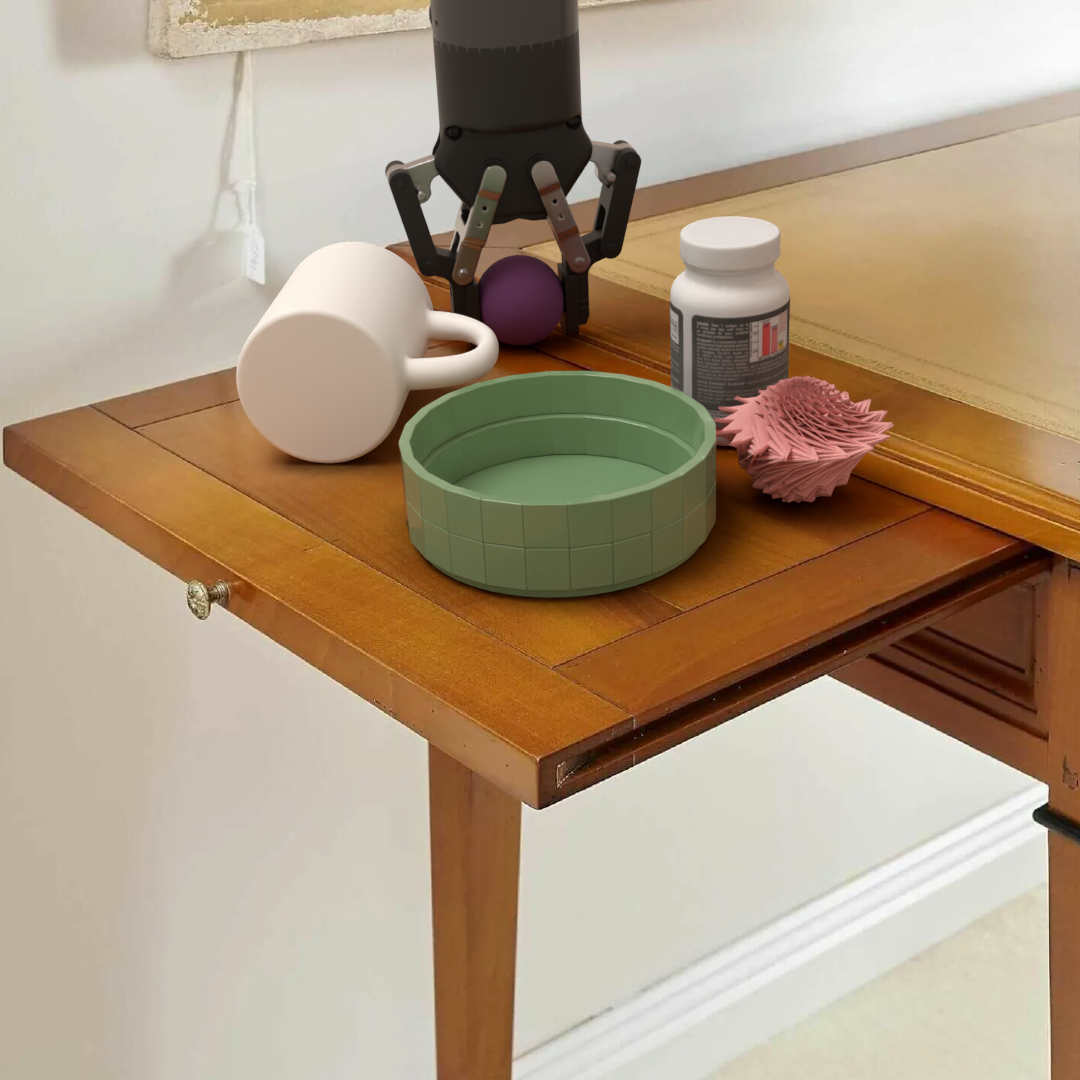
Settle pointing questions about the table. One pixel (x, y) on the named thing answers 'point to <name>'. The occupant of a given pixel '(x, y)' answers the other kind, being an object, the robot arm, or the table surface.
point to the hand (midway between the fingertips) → (522, 335)
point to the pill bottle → (729, 313)
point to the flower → (801, 437)
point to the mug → (350, 353)
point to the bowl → (559, 482)
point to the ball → (520, 299)
